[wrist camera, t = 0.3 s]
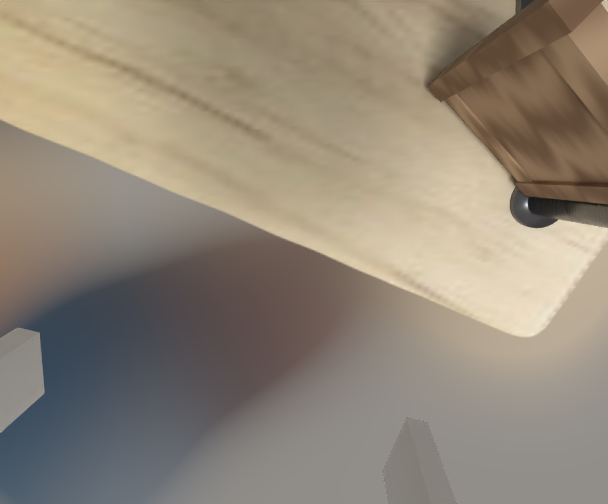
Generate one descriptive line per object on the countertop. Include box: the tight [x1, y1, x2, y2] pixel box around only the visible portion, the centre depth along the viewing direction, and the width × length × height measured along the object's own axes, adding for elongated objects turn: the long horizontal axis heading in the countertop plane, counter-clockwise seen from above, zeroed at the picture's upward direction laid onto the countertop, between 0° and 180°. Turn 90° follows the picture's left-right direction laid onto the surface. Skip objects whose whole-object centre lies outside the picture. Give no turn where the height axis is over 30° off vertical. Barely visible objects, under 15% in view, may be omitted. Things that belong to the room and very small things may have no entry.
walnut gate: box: [428, 0, 608, 204], centre depth 25 cm, size 16×2×16 cm, turn 47°
